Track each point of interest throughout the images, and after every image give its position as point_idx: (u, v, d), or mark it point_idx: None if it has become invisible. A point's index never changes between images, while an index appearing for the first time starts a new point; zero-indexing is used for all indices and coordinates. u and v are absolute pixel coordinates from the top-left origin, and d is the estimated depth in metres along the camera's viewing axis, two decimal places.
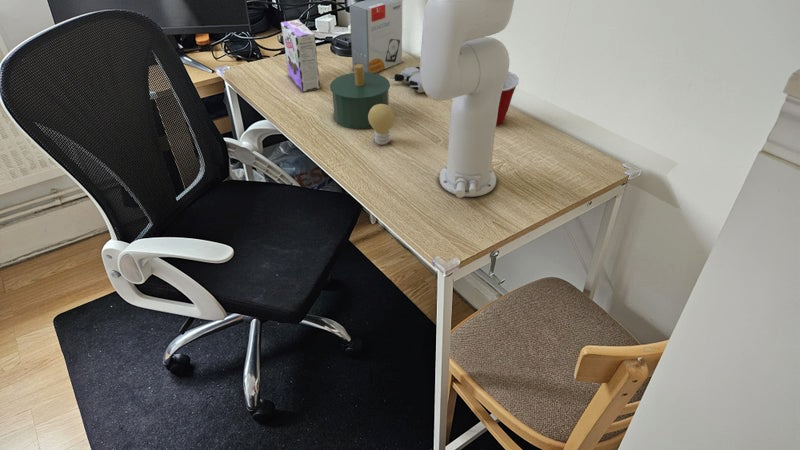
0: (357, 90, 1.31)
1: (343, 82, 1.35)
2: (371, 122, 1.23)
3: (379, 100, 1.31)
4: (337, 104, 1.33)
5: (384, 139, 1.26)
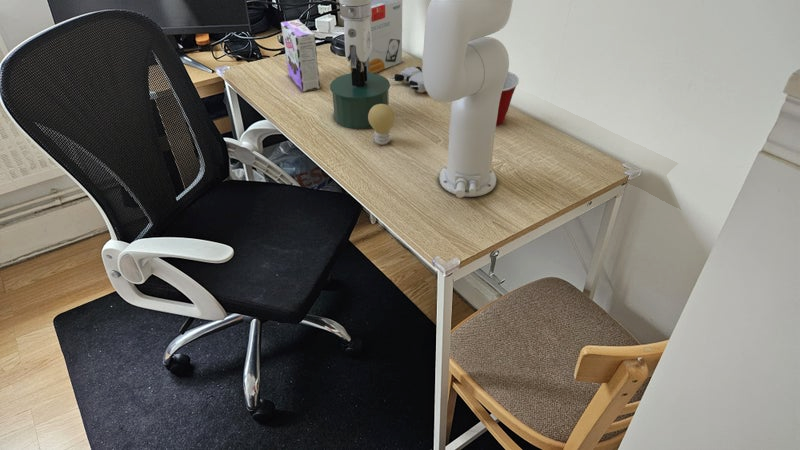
0: (357, 90, 1.31)
1: (343, 82, 1.35)
2: (371, 122, 1.23)
3: (379, 100, 1.31)
4: (337, 104, 1.33)
5: (384, 139, 1.26)
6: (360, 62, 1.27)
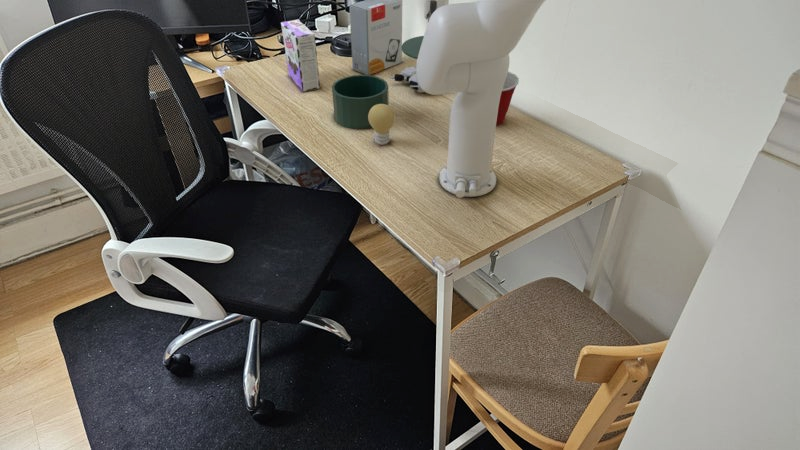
0: None
1: (415, 44, 1.26)
2: (371, 122, 1.23)
3: (379, 100, 1.31)
4: (337, 104, 1.33)
5: (384, 139, 1.26)
6: None
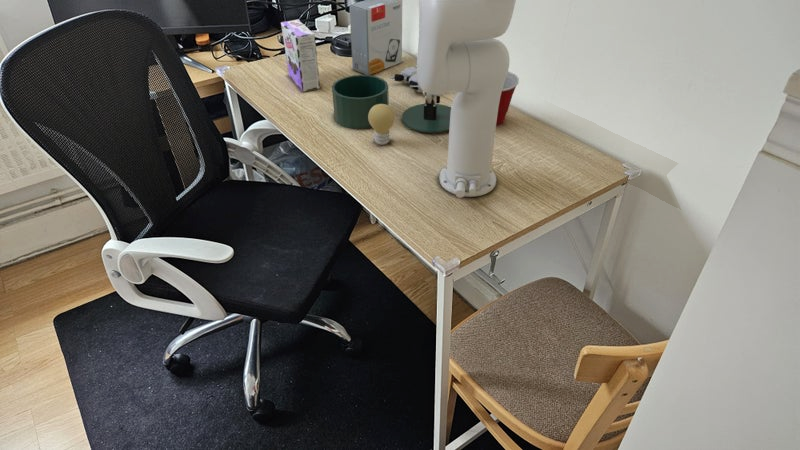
0: (430, 123, 1.34)
1: (414, 114, 1.38)
2: (371, 122, 1.23)
3: (379, 100, 1.31)
4: (337, 104, 1.33)
5: (384, 139, 1.26)
6: (435, 95, 1.28)
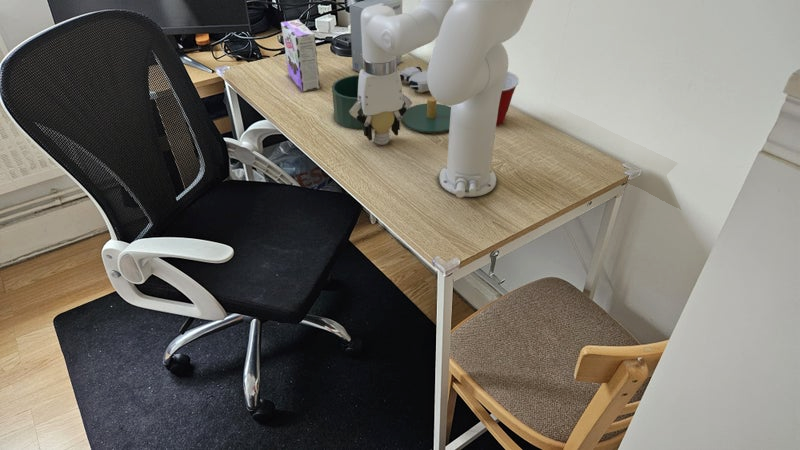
0: (430, 123, 1.34)
1: (414, 114, 1.38)
2: (371, 122, 1.23)
3: None
4: (337, 104, 1.33)
5: (384, 139, 1.26)
6: None
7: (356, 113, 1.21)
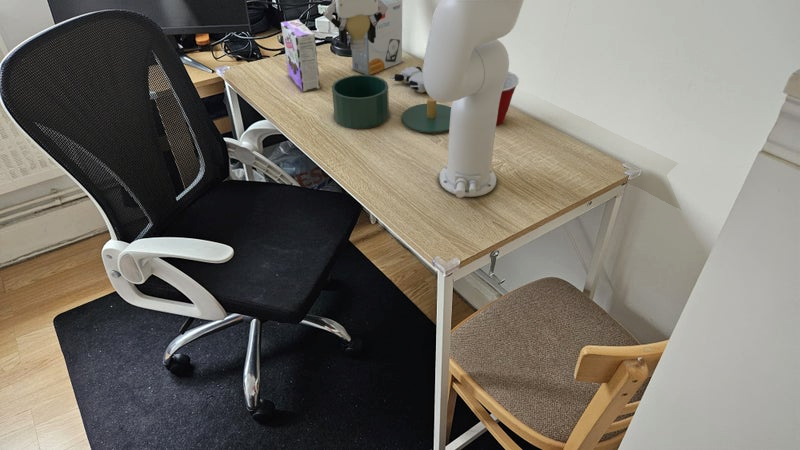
0: (430, 123, 1.34)
1: (414, 114, 1.38)
2: (346, 26, 1.22)
3: (379, 100, 1.31)
4: (337, 104, 1.33)
5: (360, 46, 1.26)
6: None
7: (331, 15, 1.20)
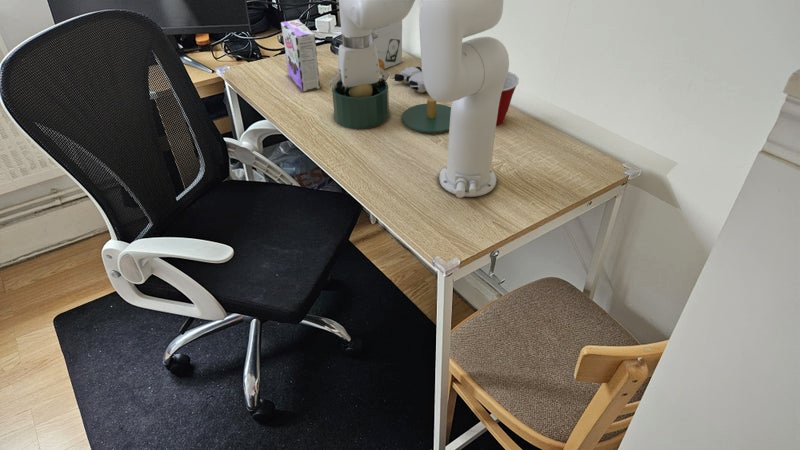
0: (430, 123, 1.34)
1: (414, 114, 1.38)
2: (351, 94, 1.34)
3: (379, 100, 1.31)
4: (337, 104, 1.33)
5: None
6: None
7: (335, 84, 1.31)
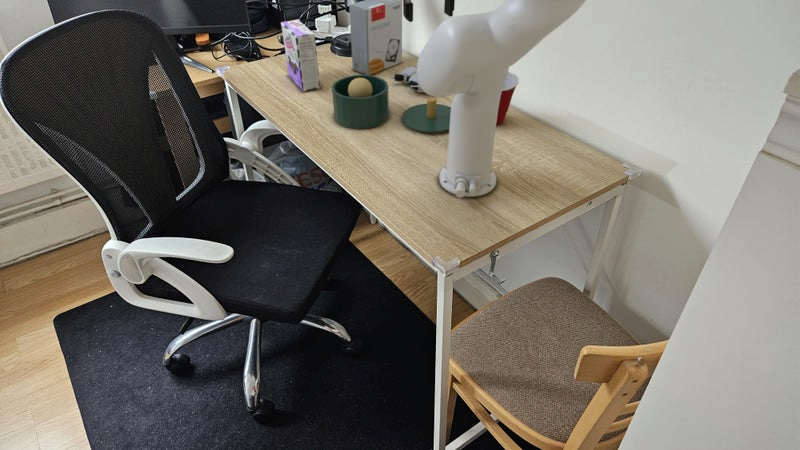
0: (430, 123, 1.34)
1: (414, 114, 1.38)
2: (351, 94, 1.34)
3: (379, 100, 1.31)
4: (337, 104, 1.33)
5: None
6: None
7: None
